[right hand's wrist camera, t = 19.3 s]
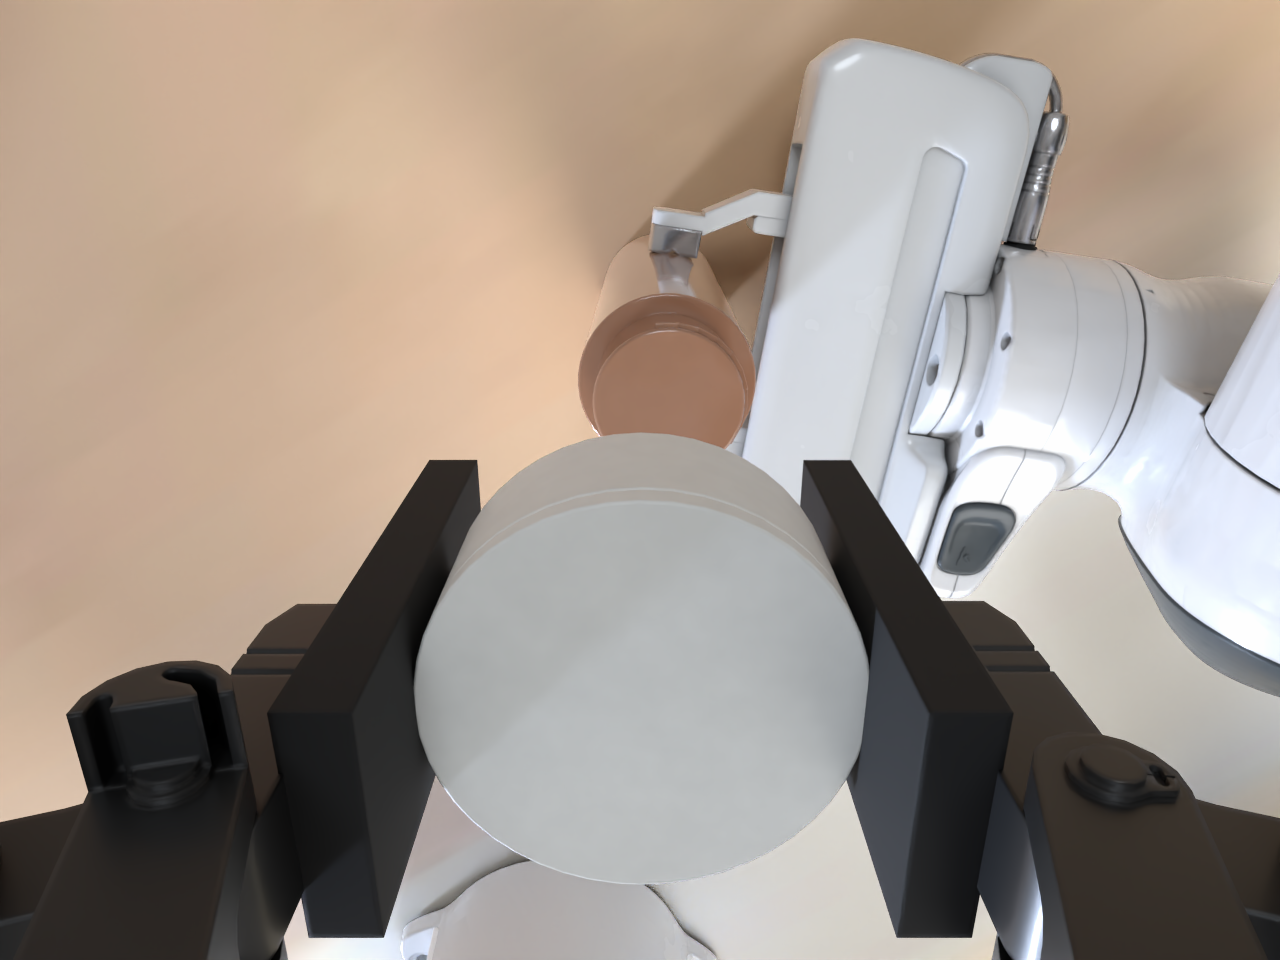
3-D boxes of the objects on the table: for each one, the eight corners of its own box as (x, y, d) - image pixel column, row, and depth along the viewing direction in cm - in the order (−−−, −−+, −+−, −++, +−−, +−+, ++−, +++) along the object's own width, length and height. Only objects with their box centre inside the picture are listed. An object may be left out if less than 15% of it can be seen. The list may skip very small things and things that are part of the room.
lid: (435, 432, 11) (387, 502, 9) (846, 429, 11) (894, 499, 9) (467, 765, 13) (434, 886, 11) (818, 764, 13) (852, 885, 11)
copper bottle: (715, 343, 39) (763, 491, 23) (606, 347, 39) (577, 496, 23) (714, 230, 38) (767, 304, 21) (601, 235, 38) (565, 310, 21)
